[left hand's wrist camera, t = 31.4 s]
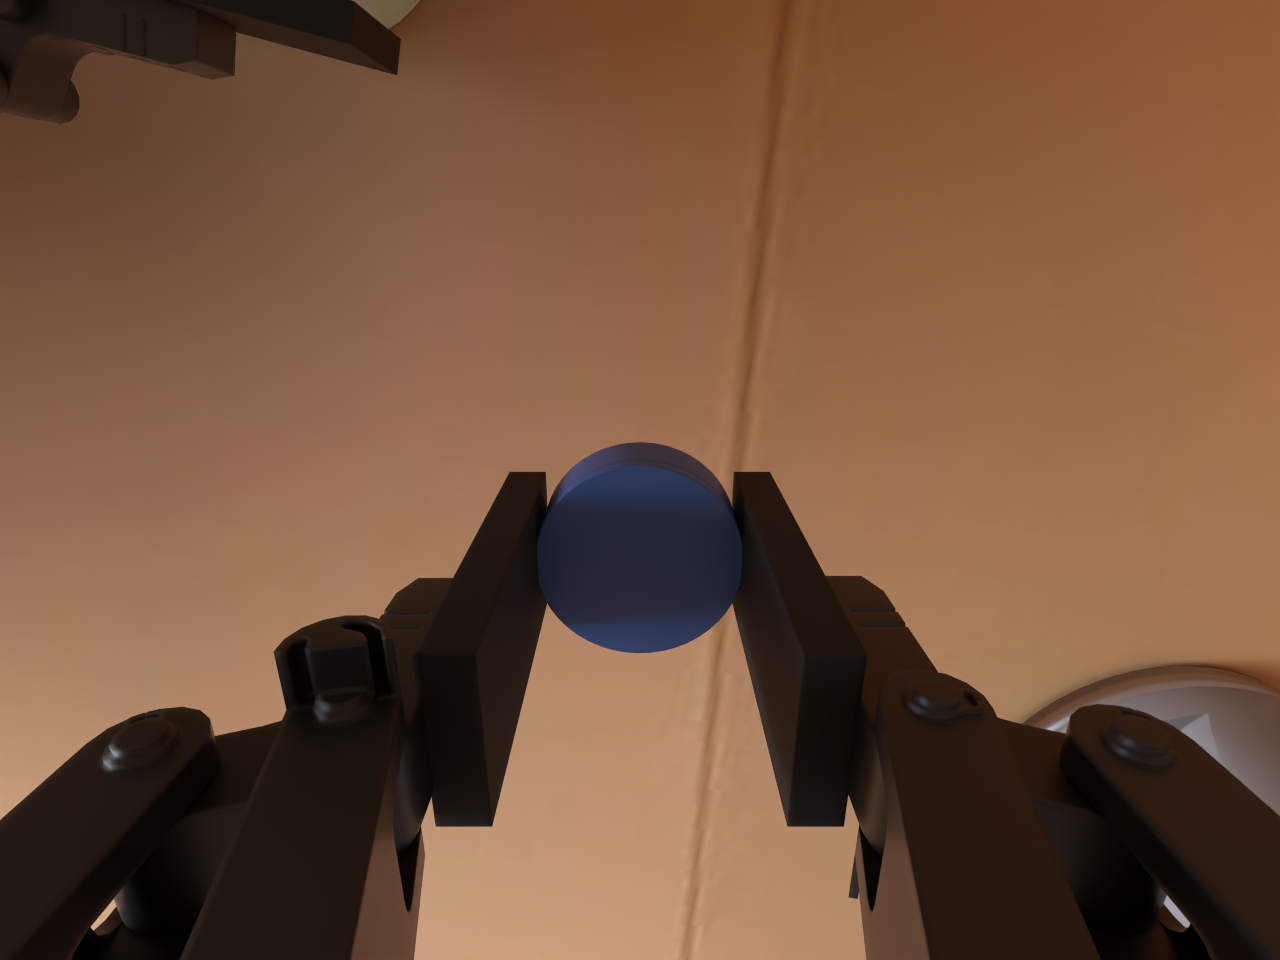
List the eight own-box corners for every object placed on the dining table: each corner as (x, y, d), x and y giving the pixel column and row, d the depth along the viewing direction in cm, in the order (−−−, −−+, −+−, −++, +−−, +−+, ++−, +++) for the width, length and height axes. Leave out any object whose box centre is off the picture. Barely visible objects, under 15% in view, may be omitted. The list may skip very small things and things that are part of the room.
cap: (715, 625, 15) (722, 665, 14) (535, 601, 15) (525, 640, 14) (752, 457, 14) (765, 482, 12) (555, 428, 14) (545, 450, 12)
